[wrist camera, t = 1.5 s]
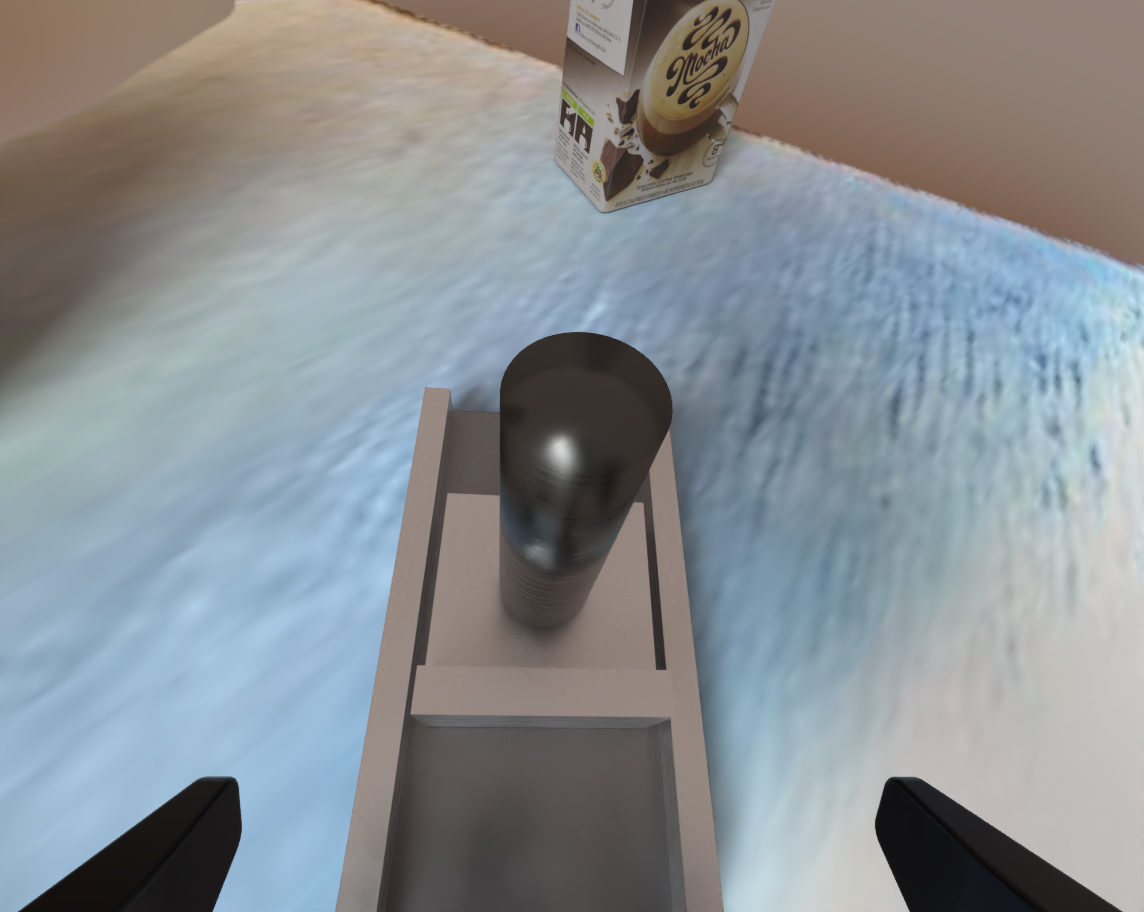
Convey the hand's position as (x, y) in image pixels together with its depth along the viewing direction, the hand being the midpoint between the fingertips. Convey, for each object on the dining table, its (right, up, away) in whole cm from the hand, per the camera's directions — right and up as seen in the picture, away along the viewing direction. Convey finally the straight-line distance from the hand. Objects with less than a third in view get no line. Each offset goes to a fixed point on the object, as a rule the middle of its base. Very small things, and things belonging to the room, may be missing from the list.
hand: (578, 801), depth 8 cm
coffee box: (+4, +24, +29) cm, 38 cm away
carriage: (-1, -1, +12) cm, 12 cm away
